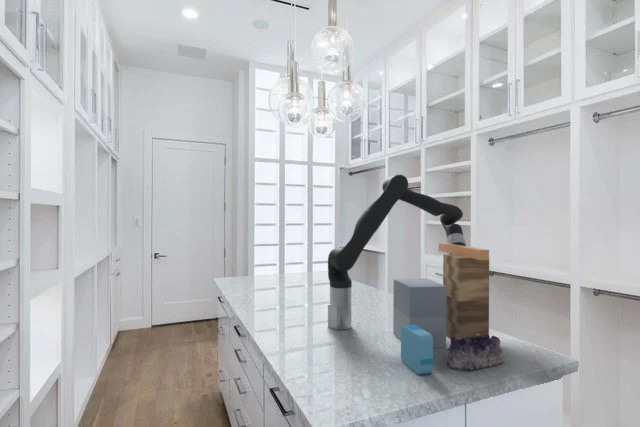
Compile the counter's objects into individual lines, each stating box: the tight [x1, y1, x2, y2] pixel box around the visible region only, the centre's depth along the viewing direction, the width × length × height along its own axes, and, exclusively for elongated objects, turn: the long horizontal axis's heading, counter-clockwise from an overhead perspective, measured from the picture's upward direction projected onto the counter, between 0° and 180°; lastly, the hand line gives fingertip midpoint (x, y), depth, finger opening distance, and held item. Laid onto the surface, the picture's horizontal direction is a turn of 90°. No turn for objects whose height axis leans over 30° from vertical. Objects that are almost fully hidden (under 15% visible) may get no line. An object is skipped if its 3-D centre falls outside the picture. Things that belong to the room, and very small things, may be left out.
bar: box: [438, 242, 490, 261], centre depth 140 cm, size 30×4×4 cm, turn 9°
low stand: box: [392, 277, 447, 349], centre depth 134 cm, size 16×14×22 cm
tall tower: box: [442, 253, 490, 340], centre depth 137 cm, size 12×12×32 cm
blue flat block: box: [400, 324, 434, 376], centre depth 110 cm, size 12×4×12 cm, turn 14°
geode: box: [446, 334, 505, 372], centre depth 114 cm, size 20×12×10 cm, turn 118°
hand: (463, 279), depth 146 cm, fingers open, 8 cm apart
